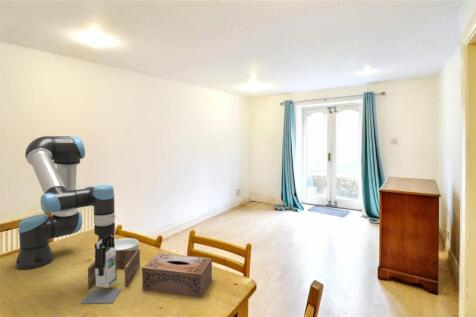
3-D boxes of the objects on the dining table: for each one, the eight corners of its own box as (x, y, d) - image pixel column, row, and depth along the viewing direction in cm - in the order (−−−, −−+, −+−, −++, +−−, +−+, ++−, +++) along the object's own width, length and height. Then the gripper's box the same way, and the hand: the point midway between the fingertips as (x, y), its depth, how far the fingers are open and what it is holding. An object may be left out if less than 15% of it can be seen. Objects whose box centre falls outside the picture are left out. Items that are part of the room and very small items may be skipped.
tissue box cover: (211, 279, 119) (211, 258, 119) (201, 298, 105) (201, 274, 105) (159, 273, 124) (159, 253, 124) (142, 290, 110) (142, 267, 110)
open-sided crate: (88, 288, 111) (87, 268, 110) (106, 267, 129) (105, 250, 128) (127, 287, 112) (127, 267, 111) (139, 267, 130) (139, 249, 129)
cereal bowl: (145, 254, 144) (145, 241, 144) (117, 266, 130) (117, 252, 130) (126, 247, 153) (126, 235, 153) (98, 258, 139) (97, 245, 139)
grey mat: (80, 304, 100) (80, 303, 100) (91, 290, 109) (91, 289, 109) (112, 303, 101) (112, 302, 101) (121, 289, 110) (121, 288, 110)
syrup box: (108, 288, 106) (107, 253, 105) (95, 286, 107) (94, 251, 106) (117, 280, 112) (116, 247, 111) (104, 279, 113) (103, 246, 112)
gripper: (104, 231, 98) (105, 290, 100) (122, 216, 118) (123, 266, 119) (82, 232, 98) (85, 291, 99) (105, 216, 117) (106, 266, 119)
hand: (106, 277), depth 109 cm, fingers closed on syrup box, 7 cm apart
